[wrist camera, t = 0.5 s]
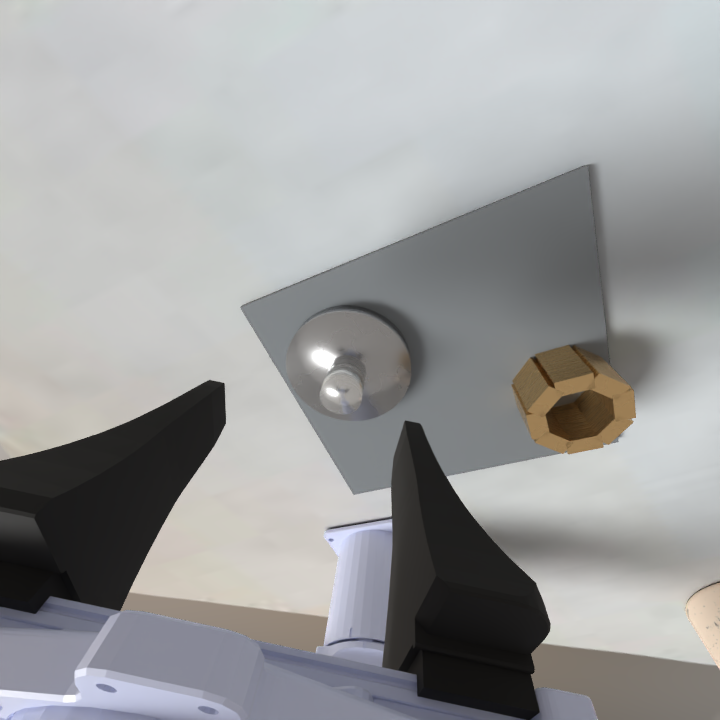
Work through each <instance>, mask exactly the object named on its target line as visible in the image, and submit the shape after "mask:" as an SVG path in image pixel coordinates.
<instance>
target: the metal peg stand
mask: <svg viewBox="0 0 720 720" xmlns="http://www.w3.org/2000/svg"><path fill="white" fill-rule="evenodd" d="M286 370H287V375H288V378H289V381H290V383H291V385H292V387H293V389H294V390H295V392H296V393H297V395H298V396H299V397H300V398H301V399H302V400H303V401H304V402H305V403H306V404H307V405H308V406H310V407H311V408H313V409H314V410H316V411H317V412H319V413H321V414H323V415H326V416H328V417H331V418H334V419H339V420H345V421H363V420H368V419H373V418H376V417H379V416H381V415H383V414H385V413H387V412H388V411H390V410H391V409H393V408H394V407H395V406H396V405H397V404H398V403H399V402H400V401H401V400H402V398H403V397H404V395H405V393H406V391H407V389H408V387H409V384H410V379H411V356H410V350H409V347H408V344H407V342H406V340H405V338H404V336H403V335H402V333H401V332H400V330H399V329H398V328H397V327H396V326H395V325H394V324H393V323H392V322H391V321H390V320H389V319H387V318H386V317H384V316H383V315H381V314H379V313H377V312H375V311H373V310H370V309H367V308H364V307H359V306H351V305H341V306H334V307H330V308H326V309H323V310H321V311H319V312H317V313H315V314H314V315H312V316H310V317H309V318H308V319H307V320H306V321H305V322H304V323H303V324H302V325H301V326H300V328H299V329H298V331H297V332H296V334H295V335H294V337H293V339H292V340H291V342H290V345H289V347H288V350H287V354H286Z"/></svg>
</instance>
